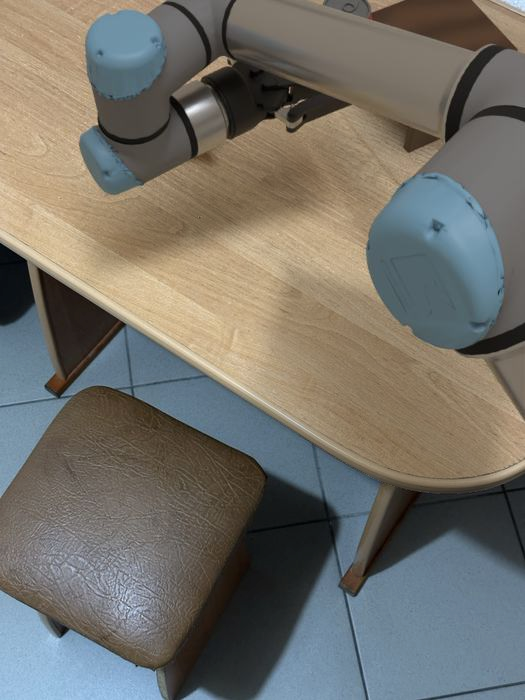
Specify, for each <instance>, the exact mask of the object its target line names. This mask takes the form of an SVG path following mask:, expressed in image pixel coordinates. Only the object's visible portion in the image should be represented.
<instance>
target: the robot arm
mask: <svg viewBox="0 0 525 700" xmlns="http://www.w3.org/2000/svg"><path fill="white" fill-rule="evenodd" d="M84 50H85V54H84V55H85V63H86V74H87V78H88V81H89V82H88V83H89V84H90V86H91V87H90V88H91V91H92V93H93V94H92V95H93V100H94V103H95V108H96V112H97V118H96V119H97V125H92V126H91V127H90V128H89V129H87V130H86V131H84V132H82V133H81V135H80V136H79V140H78V147H79V152H80V155H81V157H82V159H83V163H84V164H85V166H86V168H87V170H88V172H89V174H90V175H91V177H92V179H93V180H94V182H95V183H96V185H97V186H98V187H99V188H100V189H101V191H102V192H104V193H105V194H107V195H110V196H117V195H120V194H122V193H125V192H127V191H129V190H132V189H134V188H137V187H143V186H144V184H146V183H149V182H150V181H152V180H154V179H156V178H157V177H159V176H162V175H163V174H165V173H167V172H170V171H171V170H173V169H175V168H177V167H179V166H181V165H183V164H185V163H187V162H189V161H190V160H193V159H195V158H197V157H199V156H201V155H203V154H205V153H207V152H209V151H212V150H211V149H213V148H215V147H216V148H217V147H219V146H221V145H223V144H224V143H225V142H226V140H230V141H231V140H234V139H235V138H238V137H240V136H241V135H244V134H246V133H248V132H250V131H252V130H253V129H255V128H256V127H257V126H258V125H259V124H260V123H261V122H263V121H268V120H275V119H277V120H279V121H280V122H282V123H283V124H285V125H286V126H285V131H286V132H287V133H289V134H294V133H296V132H297V131H298V130H299V129H300V128H301V127H303V126H304V125H305V124H307V123H311V122H313V121H315V120H318V119H320V118H322V117H324V116H328V115H330V114H333V113H334V112H338V111H340V110H342V109H343V110H344V109H345V108H347V107H350V106H352V105H353V106H356V107H358V108H361V109H363V110H366V111H369V112H371V113H373V114H376V115H379V116H382V117H384V118H386V119H389V120H391V121H395V122H397V123H400V124H402V125H405V126H407V127H409V126H410V127H412V128H415V129H418V130H420V131H423V132H426V133H428V134H431V135H433V136H436V137H439V138H441V139H440V140H441V142H442V147H440V148H439V149H438V151H436V152H435V153H434V154H433V156H431V158H430V159H429V160H427V161H426V162H425V163H424V164H423V165H422V167H420V169H418V170H417V171H416V172H415V174H413V175H412V176H411V177H410V178H407V179H405V180H404V181H403V182H402V183H401V184H400V185H399V186H398V187H397V188H396V190H395V191H394V193H393V195H391V197H390V199H389V200H388V202H387V203H386V204H385V205H384V206H383V208H382V209H381V210H380V211H379V212H378V213H377V215H376V217H375V218H374V219H373V222H372V223H371V225H370V227H369V230H368V233H367V238H368V239H367V242H366V246H365V258H366V265H367V269H368V274H369V276H370V280H371V282H372V284H373V287H374V289H375V292H376V293H377V295H378V297H379V298H380V301H382V304H383V305H384V307H386V309H387V310H388V311H389V313H390V314H391V315H392V317H393V318H394V319H395V320H396V321H398V323H399V324H400V325H401V326H402V327H406V326H408V327H409V328H410V329H411V332H412V335H413V336H415V337H416V338H418V339H419V340H420V341H422V342H424V343H427V344H428V345H431V346H433V347H436V348H439V349H446V350H450V351H451V350H452V351H454V352H455V353H456V354H458V355H459V356H461V357H464V358H470V359H475V360H476V359H477V360H483V361H484V363H485V364H486V366H487V367H488V369H489V370H490V372H491V373H492V374H493V376H494V378H495V379H496V381H497V382H498V384H499V385H500V387H501V388H502V389H503V391H504V393H505V394H506V395H507V397H508V399H509V400H510V402H511V403H512V405H513V406H514V407H515V409H516V411H517V412H518V414H519V415H520V417H521V418H522V420H523V421H524V422H525V53H524V52H521V51H519V50H518V51H515V50H512V49H509V48H506V47H502V46H499V45H495V44H488V45H485V46H483V47H482V48H480V49H478V50H477V51H476V52H474V51H471V50H468V49H464V48H461V47H458V46H454V45H451V44H448V43H445V42H441V41H438V40H435V39H432V38H428V37H425V36H422V35H419V34H415V33H412V32H409V31H406V30H402V29H399V28H396V27H393V26H389V25H386V24H383V23H380V22H376V21H373V20H370V19H367V18H363V17H360V16H357V15H354V14H350V13H347V12H344V11H341V10H337V9H334V8H331V7H328V6H324V5H323V4H320V3H317V2H315V1H311V0H165V1H163V2H162V3H161V4H160V5H159V4H158V5H157V6H156V7H155V8H153V9H152V10H150V11H149V12H148V13H144V12H141V11H138V10H133V9H120V10H118V11H117V12H116V13H112V14H110V13H104V14H103V15H101V16H100V17H98V18H97V19H96V20H95V21H94V22H93V23H92V24H91V25H90V26H89V28H88V30H87V32H86V35H85V40H84ZM221 57H225V58H226V61H227V62H226V63H227V64H228V65H225V66H223V67H221V68H219V69H217V70H214V71H212V72H210V73H208V74H206V75H204V76H202V77H201V79H200V80H199V79H195V80H192V79H194V78H195V77H196V76H197V75H199V73H201V72H203V71H204V70H205V69H207V68H208V67H209V66H210V65H211V64H213V63H214V62H215V61H216V60H218V59H219V58H221ZM191 80H192V81H191ZM216 148H215V149H216Z"/></svg>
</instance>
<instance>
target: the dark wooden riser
mask: <svg viewBox="0 0 525 700" xmlns="http://www.w3.org/2000/svg"><path fill="white" fill-rule="evenodd" d="M371 15H372V20H373V21H376V22H380V23H383V24H386V25H389V26H393V27H396V28H399V29H402V30H406V31H409V32H412V33H415V34H419V35H422V36H425V37H428V38H432V39H435V40H438V41H441V42H445V43H448V44H451V45H454V46H458V47H461V48H464V49H468V50H471V51H474V52H476V51H477V50H478V49H480V48H482V47H483V46H485V45H488V44H495V45H499V46H502V47H506V48H509V49H512V50H515V51H518V52H519V48H517V47H516V46H515V44H514V43H513V42H512V41H511V40H510V39H509V38H508V37H507V36H506V35H505V34H504V33H503V32H502V30H500V29H499V27H498V26H497V25H496V24H495V23H494V22H493V20H491V19H490V18H489V17H488V15H487V14H486V13H485V12H484V11H483V10H482V9H481V7H479V5H477V3H475V1H474V0H401V1H398V2H396V3H393V4H391V5H388V6H385V7H383V8H380V9H378V10H375V11H371ZM439 140H441V138H439V137H436V136H433V135H431V134H428V133H426V132H423V131H420V130H418V129H415V128H412V127H410V126H408V129H407V133H406V137H405V140H404V144H403V149H404V150H405V151H406V153H407V154H409V153H411V152H415V151H417V150H419V149H421V148H423V147H426V146H427V145H430V144H432V143H434V142H436V141H439Z"/></svg>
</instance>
